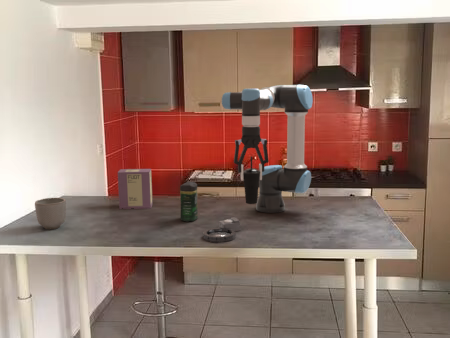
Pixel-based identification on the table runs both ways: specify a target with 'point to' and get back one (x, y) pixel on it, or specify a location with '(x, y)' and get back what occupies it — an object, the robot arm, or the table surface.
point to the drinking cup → (251, 184)
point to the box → (135, 188)
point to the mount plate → (219, 234)
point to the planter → (51, 212)
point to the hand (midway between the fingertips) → (251, 179)
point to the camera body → (230, 224)
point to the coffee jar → (189, 201)
